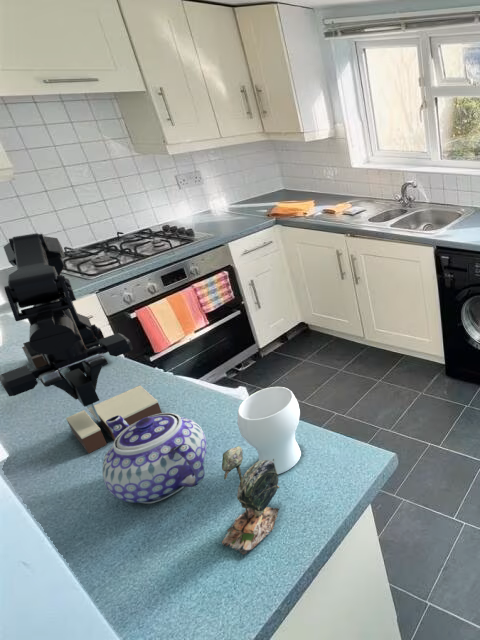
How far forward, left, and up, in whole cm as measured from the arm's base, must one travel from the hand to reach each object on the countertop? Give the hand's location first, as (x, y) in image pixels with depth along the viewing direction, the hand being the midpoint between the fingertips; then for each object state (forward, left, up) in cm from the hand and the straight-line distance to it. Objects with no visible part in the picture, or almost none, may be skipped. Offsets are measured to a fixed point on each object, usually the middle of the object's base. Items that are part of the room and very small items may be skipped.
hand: (85, 394), depth 90 cm
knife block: (0, -45, -10) cm, 46 cm away
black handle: (0, 0, -6) cm, 6 cm away
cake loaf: (-5, 0, -10) cm, 12 cm away
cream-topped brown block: (+2, 0, -10) cm, 11 cm away
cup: (-18, +40, -11) cm, 45 cm away
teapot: (-3, +26, -11) cm, 28 cm away
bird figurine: (-8, +50, -11) cm, 52 cm away
